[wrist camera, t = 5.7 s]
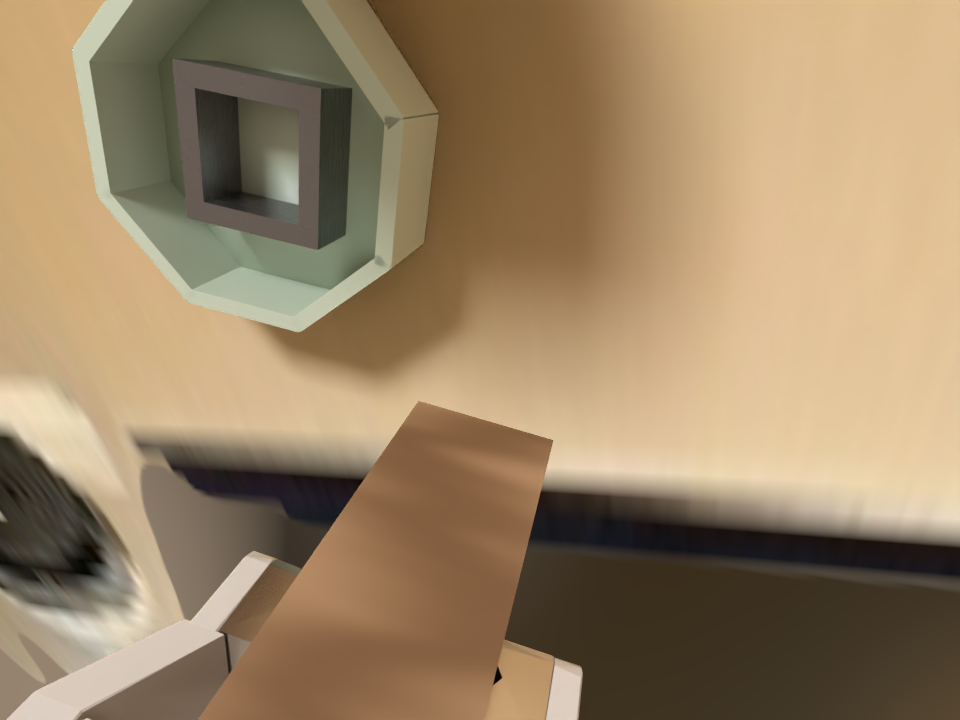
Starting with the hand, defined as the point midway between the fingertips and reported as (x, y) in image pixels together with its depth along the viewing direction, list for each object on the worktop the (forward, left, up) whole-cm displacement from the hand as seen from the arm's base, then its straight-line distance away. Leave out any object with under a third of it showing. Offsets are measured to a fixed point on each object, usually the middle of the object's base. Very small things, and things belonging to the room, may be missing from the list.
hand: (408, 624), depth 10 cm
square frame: (+14, -4, -20) cm, 25 cm away
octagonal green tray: (+14, -4, -20) cm, 25 cm away
